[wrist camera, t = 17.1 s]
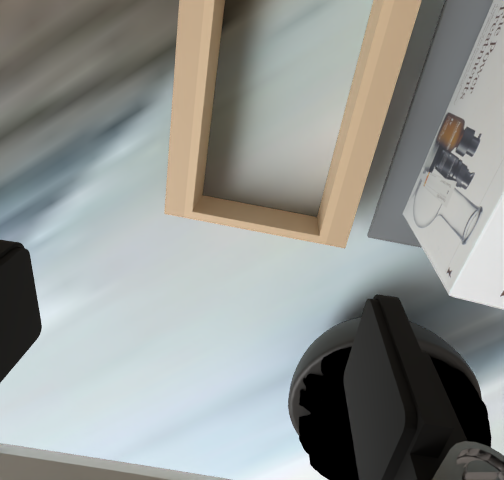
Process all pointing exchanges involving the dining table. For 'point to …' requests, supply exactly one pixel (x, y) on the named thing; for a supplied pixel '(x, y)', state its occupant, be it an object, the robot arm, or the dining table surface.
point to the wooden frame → (348, 142)
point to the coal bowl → (335, 405)
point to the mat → (427, 114)
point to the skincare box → (468, 178)
